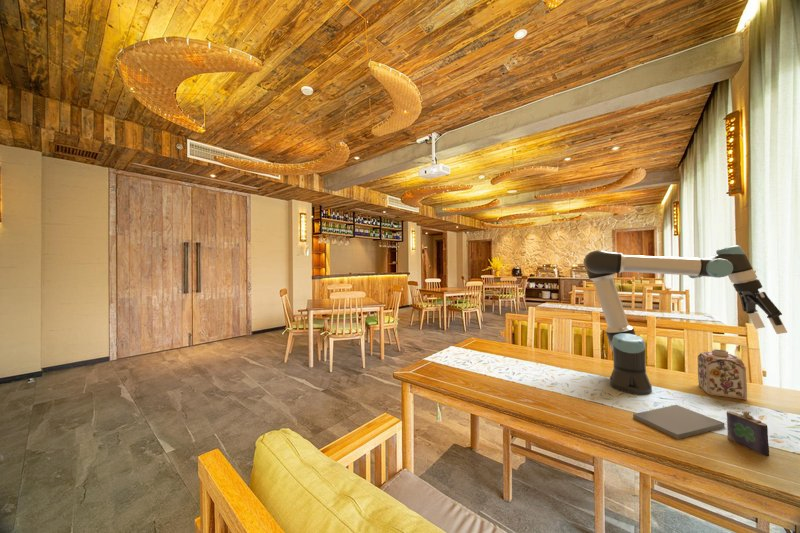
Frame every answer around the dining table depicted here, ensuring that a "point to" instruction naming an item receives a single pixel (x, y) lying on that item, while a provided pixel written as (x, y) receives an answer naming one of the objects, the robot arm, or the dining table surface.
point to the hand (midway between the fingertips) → (770, 330)
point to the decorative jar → (722, 374)
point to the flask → (748, 432)
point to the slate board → (678, 421)
